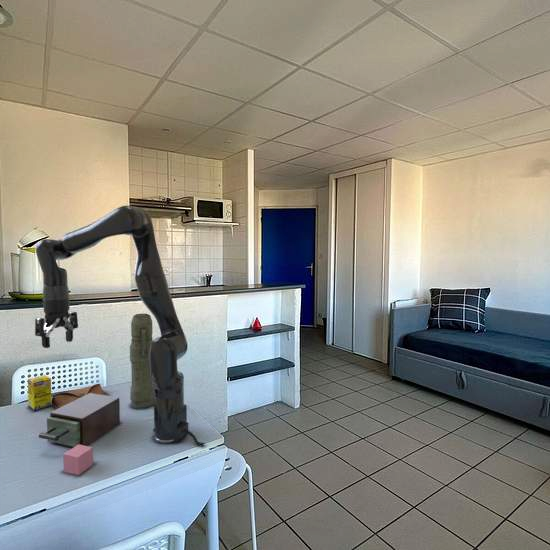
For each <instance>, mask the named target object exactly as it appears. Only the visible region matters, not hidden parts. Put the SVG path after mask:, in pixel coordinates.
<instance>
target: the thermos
mask: <svg viewBox="0 0 550 550" xmlns="http://www.w3.org/2000/svg"><path fill="white" fill-rule="evenodd" d="M130 336H131V340H130V346H129V361H130V364H131V365H130V366H131V385H130V391H129V393H130V396H129V397H130V407H131V408H132V409H135V410H144V409H148V408H151V407H153V406H154V381H153V379H152V377H151V370H150V346H151V343H152V342H153V340H154V339H153V320H152V316H151V314H148V313H136V314H135V315H133V317H132V319H131V322H130Z"/></svg>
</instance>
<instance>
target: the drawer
mask: <svg viewBox="0 0 550 550" xmlns="http://www.w3.org/2000/svg"><path fill="white" fill-rule="evenodd" d="M38 438H39V439H42V440H47V442H49V443H55V444H58V445H59V444H60V445H64V446H69V447H72V448H74V447H75V446H77V445H78V444H79V445H80V441H81V421H80V420H74V419H69V418H64V417H59V416H56V418H55V417H50V416H48V417H46V431H44V432H40V433H39V434H38Z"/></svg>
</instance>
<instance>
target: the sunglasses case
mask: <svg viewBox="0 0 550 550" xmlns="http://www.w3.org/2000/svg"><path fill="white" fill-rule="evenodd" d="M89 393H93V394H99V395H105V396H108V395H107V394H106V393H105V391H104V389H103V388H102V386H101V383H95V384H93V385H90V386H85V387H81V388H76V389H73V390H69V391H66V392H59V393H55V394H54V395H53V396H51V401H52V407H53V408H55V410H56V409H58V408H60V407H62V406H65V405H67V404H69V403H71V402H73V401H75V400H77V399H79V398H81V397H83V396H85V395H87V394H89Z"/></svg>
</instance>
